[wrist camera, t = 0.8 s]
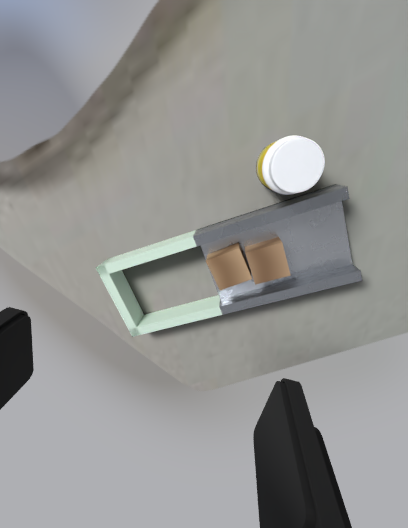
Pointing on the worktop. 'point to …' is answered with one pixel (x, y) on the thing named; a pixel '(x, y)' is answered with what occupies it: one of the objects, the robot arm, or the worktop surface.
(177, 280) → the worktop surface
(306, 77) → the worktop surface
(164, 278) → the worktop surface
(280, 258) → the brown block
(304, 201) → the channel
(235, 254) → the chip
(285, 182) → the supplement bottle
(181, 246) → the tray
